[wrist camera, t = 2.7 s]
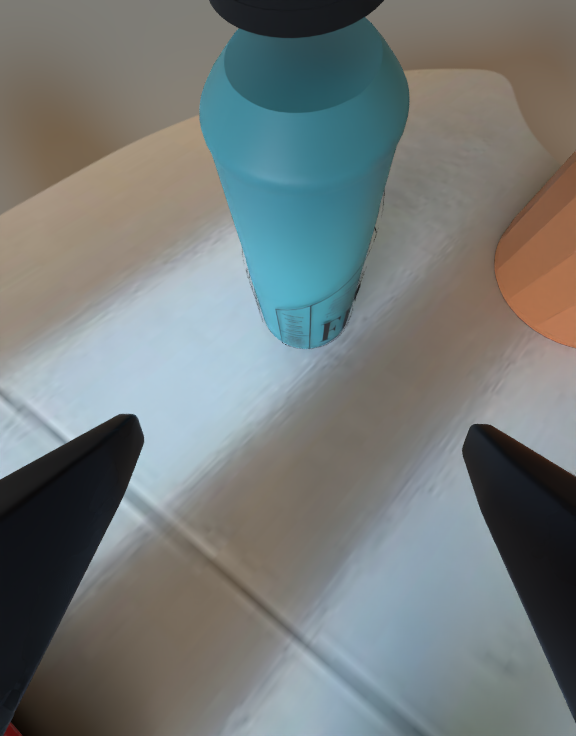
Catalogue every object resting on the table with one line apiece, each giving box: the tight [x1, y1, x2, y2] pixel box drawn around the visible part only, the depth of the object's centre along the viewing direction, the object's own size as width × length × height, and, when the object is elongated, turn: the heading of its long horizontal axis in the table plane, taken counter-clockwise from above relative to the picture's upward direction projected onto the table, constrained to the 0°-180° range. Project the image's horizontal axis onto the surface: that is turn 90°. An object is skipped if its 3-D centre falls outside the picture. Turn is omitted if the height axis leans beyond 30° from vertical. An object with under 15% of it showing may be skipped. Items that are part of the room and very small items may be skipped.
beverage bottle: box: [200, 0, 409, 349], centre depth 14 cm, size 6×7×20 cm
